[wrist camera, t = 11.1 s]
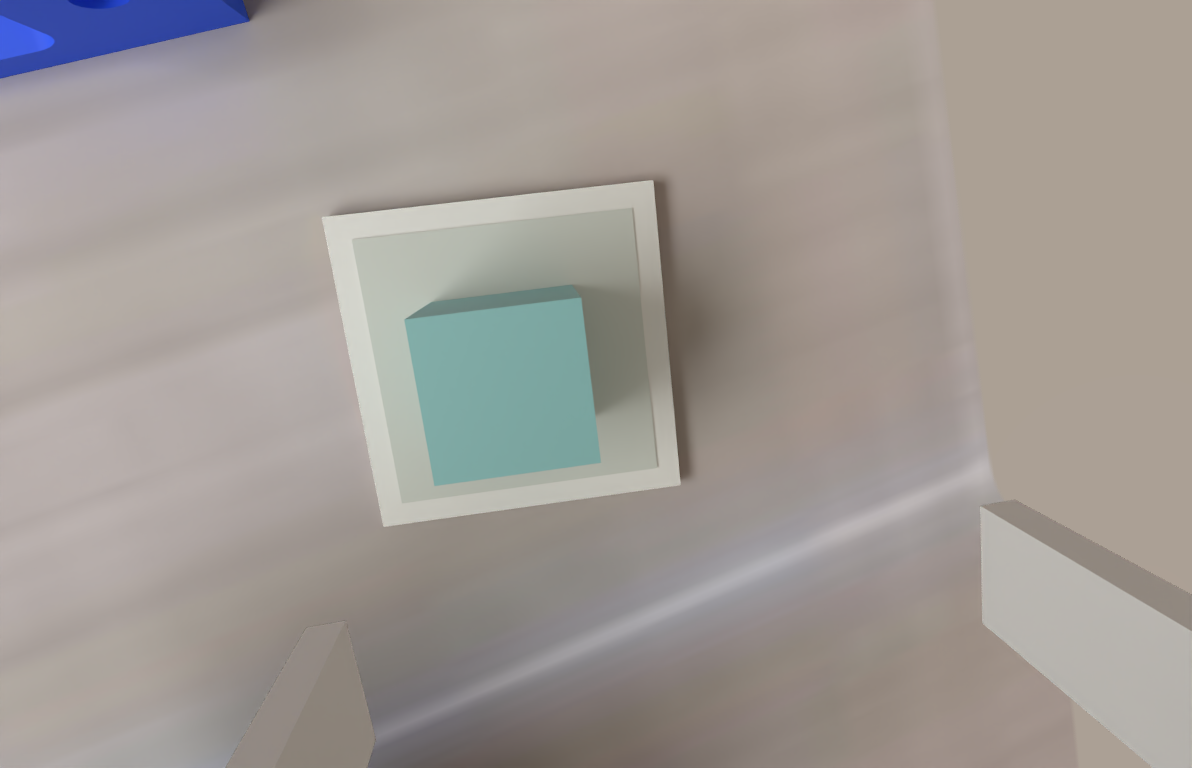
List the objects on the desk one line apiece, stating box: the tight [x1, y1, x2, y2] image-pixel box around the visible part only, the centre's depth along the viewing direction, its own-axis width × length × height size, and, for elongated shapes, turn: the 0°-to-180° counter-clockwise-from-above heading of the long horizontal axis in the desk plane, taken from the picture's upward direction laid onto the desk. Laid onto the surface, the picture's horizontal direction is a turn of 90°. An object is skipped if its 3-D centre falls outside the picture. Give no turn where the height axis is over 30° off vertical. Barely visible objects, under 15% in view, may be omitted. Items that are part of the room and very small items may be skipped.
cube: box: [404, 285, 601, 486], centre depth 31 cm, size 7×7×7 cm
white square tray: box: [322, 180, 681, 527], centre depth 35 cm, size 16×16×1 cm
